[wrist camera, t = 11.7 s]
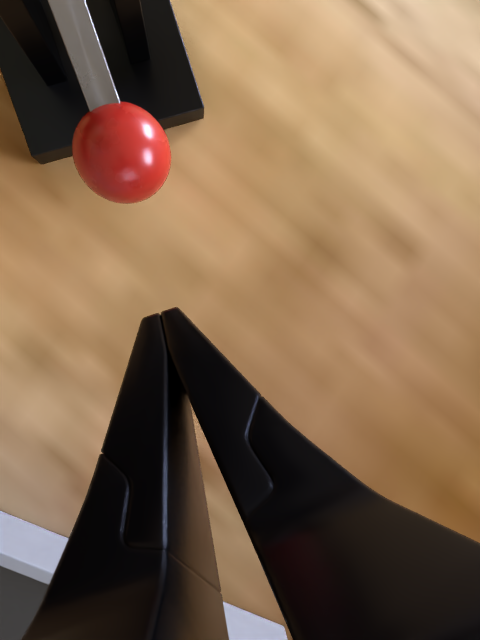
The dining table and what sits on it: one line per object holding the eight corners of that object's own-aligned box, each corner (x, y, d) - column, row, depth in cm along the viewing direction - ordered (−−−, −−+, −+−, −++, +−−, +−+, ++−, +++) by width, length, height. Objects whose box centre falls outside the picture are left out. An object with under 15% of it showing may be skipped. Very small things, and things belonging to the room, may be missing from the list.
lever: (178, 181, 18) (188, 196, 15) (99, 204, 18) (92, 225, 15) (58, -209, 12) (34, -316, 9) (-63, -184, 12) (-130, -287, 9)
